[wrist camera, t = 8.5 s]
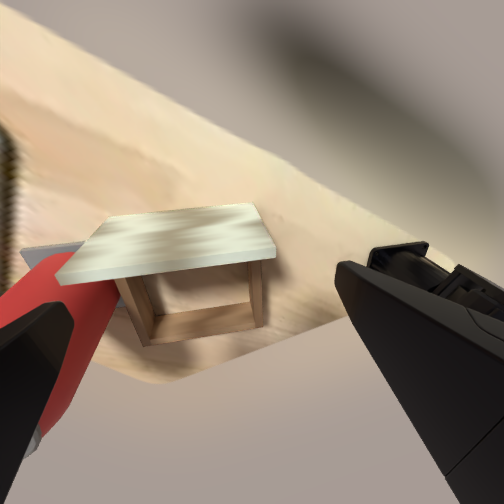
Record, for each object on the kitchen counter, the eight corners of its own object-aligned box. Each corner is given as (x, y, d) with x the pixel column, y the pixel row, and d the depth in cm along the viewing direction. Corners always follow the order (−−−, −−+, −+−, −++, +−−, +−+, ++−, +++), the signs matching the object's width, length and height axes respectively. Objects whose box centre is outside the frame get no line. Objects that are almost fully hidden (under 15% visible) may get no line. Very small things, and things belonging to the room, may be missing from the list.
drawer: (252, 202, 20) (276, 247, 13) (257, 306, 26) (275, 373, 20) (109, 216, 19) (54, 275, 12) (149, 322, 25) (128, 401, 18)
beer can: (38, 238, 18) (-173, 396, 8) (130, 260, 20) (54, 405, 10) (37, 301, 21) (-124, 479, 11) (118, 314, 23) (48, 473, 13)
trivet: (109, 238, 20) (107, 241, 19) (134, 301, 23) (132, 305, 23) (23, 248, 19) (19, 251, 19) (63, 312, 23) (60, 315, 22)
